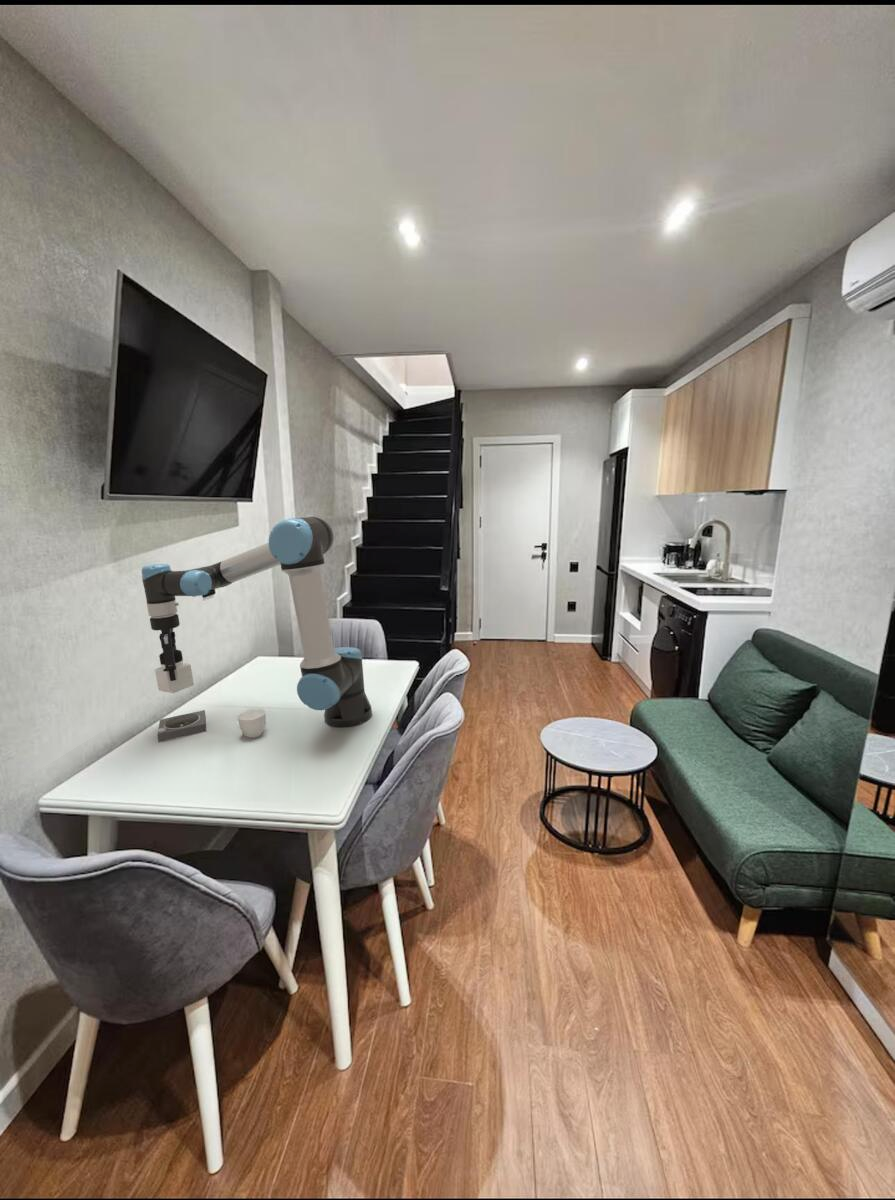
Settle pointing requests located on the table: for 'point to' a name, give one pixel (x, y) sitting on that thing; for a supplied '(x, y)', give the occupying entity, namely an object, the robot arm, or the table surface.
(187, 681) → the medicine bottle
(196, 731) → the grey square dish
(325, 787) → the table surface
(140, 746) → the table surface
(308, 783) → the table surface
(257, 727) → the cup
